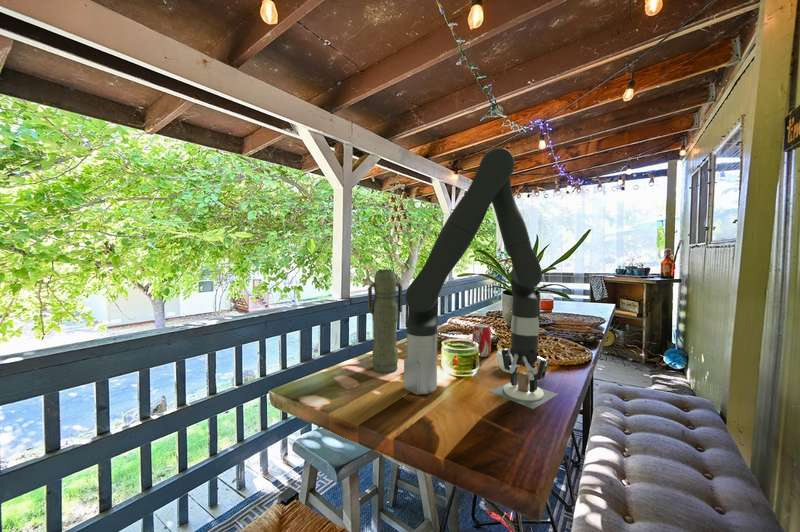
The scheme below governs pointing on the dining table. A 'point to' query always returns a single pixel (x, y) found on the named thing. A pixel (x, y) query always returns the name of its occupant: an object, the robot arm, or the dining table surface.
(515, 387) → the lid
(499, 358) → the cup
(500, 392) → the mat
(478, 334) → the soda can
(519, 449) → the dining table surface
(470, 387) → the dining table surface
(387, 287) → the thermos
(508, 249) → the robot arm
